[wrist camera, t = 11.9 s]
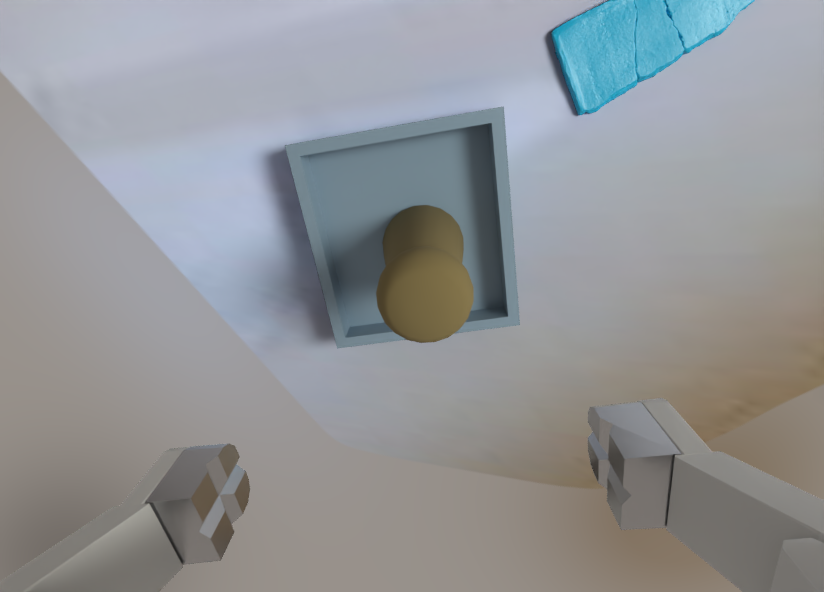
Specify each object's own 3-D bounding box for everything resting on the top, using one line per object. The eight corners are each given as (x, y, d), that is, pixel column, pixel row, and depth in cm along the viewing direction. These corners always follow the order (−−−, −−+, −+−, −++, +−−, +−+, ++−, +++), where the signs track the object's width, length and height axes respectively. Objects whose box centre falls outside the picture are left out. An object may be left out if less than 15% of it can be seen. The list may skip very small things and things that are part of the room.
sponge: (770, 30, 25) (763, -84, 23) (577, 123, 28) (552, 29, 25) (752, 33, 27) (743, -75, 24) (569, 120, 29) (544, 31, 26)
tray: (296, 144, 29) (284, 145, 27) (497, 108, 28) (503, 106, 25) (343, 333, 34) (337, 348, 32) (513, 311, 33) (519, 325, 31)
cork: (419, 186, 29) (420, 224, 19) (480, 242, 31) (511, 304, 20) (365, 249, 31) (340, 313, 21) (426, 298, 32) (429, 380, 22)
